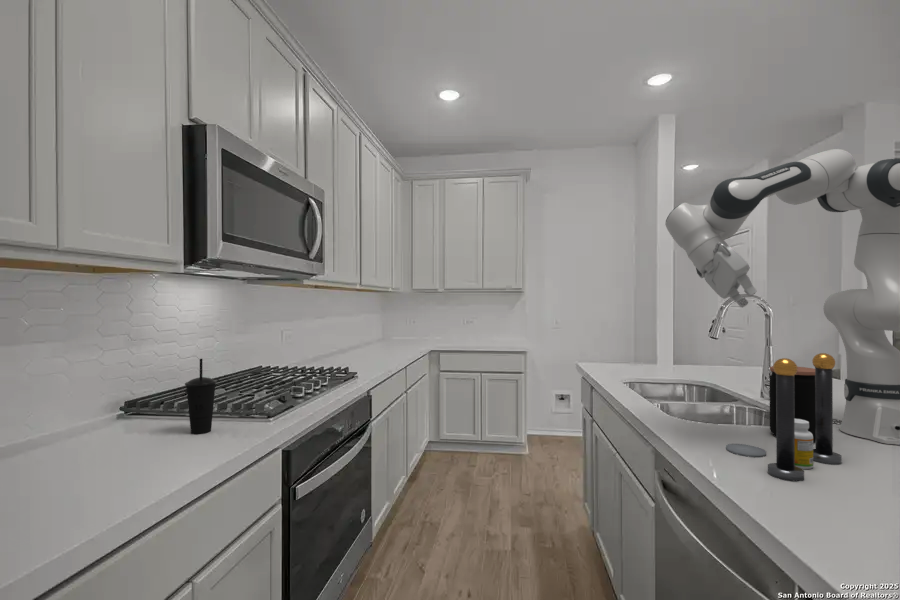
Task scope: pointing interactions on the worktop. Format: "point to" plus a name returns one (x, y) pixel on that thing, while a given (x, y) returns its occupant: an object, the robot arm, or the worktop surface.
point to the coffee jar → (797, 397)
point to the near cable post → (785, 423)
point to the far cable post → (824, 411)
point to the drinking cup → (200, 403)
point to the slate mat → (746, 450)
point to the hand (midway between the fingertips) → (749, 300)
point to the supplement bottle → (803, 445)
